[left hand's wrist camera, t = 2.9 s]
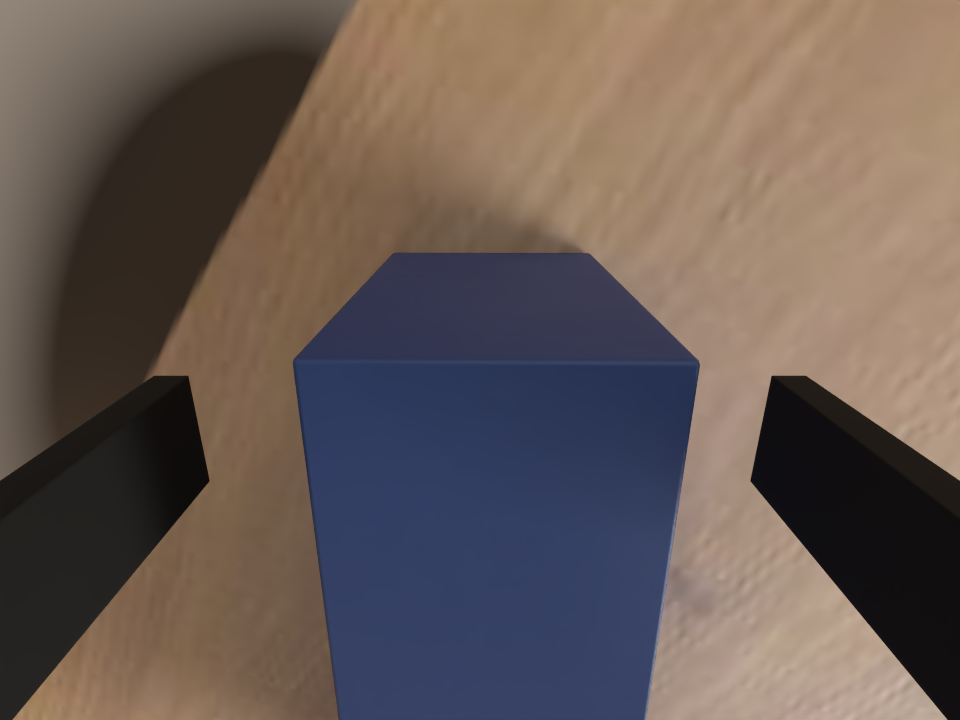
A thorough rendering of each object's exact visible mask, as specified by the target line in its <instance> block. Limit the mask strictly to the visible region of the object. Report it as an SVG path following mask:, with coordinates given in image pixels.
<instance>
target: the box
mask: <svg viewBox="0 0 960 720" xmlns="http://www.w3.org/2000/svg"><path fill="white" fill-rule="evenodd" d="M699 367H700V364H699V361H698V360H697V359H696V358H695V357H694V356H693V355H692V354H691V353H690V352H689V351H688V350H687V349H686V348H685V347H684V346H683V345H682V344H681V343H680V342H679V341H678V340H677V339H676V338H675V337H674V336H673V335H672V334H671V333H670V332H669V331H668V330H667V329H666V328H665V327H664V326H663V325H662V324H661V323H660V322H659V321H658V320H657V319H656V318H655V317H654V316H653V315H651V314H650V313H649V312H648V311H647V310H646V309H645V308H644V307H643V306H642V305H641V304H640V303H639V302H638V301H637V300H636V299H635V298H634V297H633V296H632V295H631V294H630V293H629V292H628V291H627V290H626V289H625V288H624V287H623V286H622V285H621V284H620V283H619V282H618V281H617V280H616V279H615V278H614V277H613V276H612V275H611V274H610V273H609V272H608V271H607V270H606V269H605V268H604V267H603V266H602V265H601V264H600V263H599V262H598V261H597V260H596V259H595V258H593V257H592V256H591V255H590V254H588V253H394V254H392V255H391V256H390V257H389V258H388V259H387V261H386V262H385V263H384V264H383V265H382V266H381V267H380V268H379V269H378V270H377V271H376V272H375V273H374V274H373V275H372V277H371V278H370V279H369V280H368V281H367V282H366V283H365V284H364V285H363V286H362V287H361V288H360V289H359V290H358V291H357V293H356V294H355V295H354V296H353V297H352V298H351V299H350V300H349V301H348V302H347V303H346V304H345V305H344V306H343V307H342V309H341V310H340V311H339V312H338V313H337V314H336V315H335V316H334V317H333V318H332V319H331V320H330V321H329V322H328V323H327V325H326V326H325V327H324V328H323V329H322V330H321V331H320V332H319V333H318V334H317V335H316V336H315V337H314V338H313V339H312V341H311V342H310V343H309V344H308V345H307V346H306V347H305V348H304V349H303V350H302V351H301V352H300V353H299V354H298V355H297V357H296V358H295V359H294V361H293V368H294V376H295V384H296V391H297V399H298V407H299V415H300V422H301V430H302V438H303V446H304V453H305V461H306V469H307V476H308V484H309V492H310V500H311V507H312V515H313V523H314V531H315V538H316V546H317V554H318V561H319V569H320V577H321V585H322V592H323V600H324V608H325V616H326V623H327V631H328V639H329V646H330V654H331V662H332V670H333V677H334V685H335V693H336V701H337V708H338V716H339V720H646V716H647V709H648V703H649V696H650V689H651V683H652V676H653V670H654V663H655V657H656V650H657V643H658V637H659V630H660V624H661V617H662V611H663V604H664V597H665V591H666V584H667V578H668V571H669V565H670V558H671V551H672V545H673V538H674V532H675V525H676V519H677V512H678V505H679V499H680V492H681V486H682V479H683V473H684V466H685V459H686V453H687V446H688V440H689V433H690V427H691V420H692V413H693V407H694V400H695V394H696V387H697V381H698V374H699Z"/></svg>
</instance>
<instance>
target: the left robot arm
mask: <svg viewBox="0 0 960 720" xmlns="http://www.w3.org/2000/svg"><path fill="white" fill-rule="evenodd" d="M208 482H209V476H208V471H207V466H206V461H205V456H204V451H203V446H202V441H201V436H200V431H199V426H198V422H197V417H196V412H195V407H194V402H193V397H192V392H191V387H190V382H189V377H188V376H153V377H152V378H150V379H149V380H147V381H146V382H144V383H143V384H141V385H140V386H139V387H137V388H136V389H134V390H133V391H131V392H130V393H128V394H127V395H125V396H124V397H123V398H121V399H119V400H118V401H117V402H115V403H114V404H112V405H111V406H109V407H108V408H106V409H105V410H103V411H102V412H100V413H99V414H98V415H96V416H95V417H93V418H92V419H90V420H89V421H87V422H86V423H84V424H83V425H81V426H80V427H78V428H77V429H76V430H74V431H73V432H71V433H70V434H68V435H67V436H65V437H64V438H62V439H61V440H59V441H58V442H56V443H55V444H54V445H52V446H51V447H49V448H48V449H46V450H45V451H43V452H42V453H40V454H39V455H37V456H36V457H34V458H33V459H32V460H30V461H29V462H27V463H26V464H24V465H23V466H21V467H20V468H18V469H17V470H15V471H14V472H13V473H11V474H10V475H8V476H7V477H5V478H4V479H2V480H1V481H0V720H13V718H14V717H15V716H16V715H17V714H18V712H19V711H20V710H21V709H22V707H23V706H24V705H25V704H26V703H27V701H28V700H29V699H30V698H31V697H32V695H33V694H34V693H35V692H36V691H37V689H38V688H39V687H40V686H41V684H42V683H43V682H44V681H45V680H46V678H47V677H48V676H49V675H50V674H51V672H52V671H53V670H54V669H55V668H56V666H57V665H58V664H59V663H60V661H61V660H62V659H63V658H64V657H65V655H66V654H67V653H68V652H69V651H70V649H71V648H72V647H73V646H74V645H75V643H76V642H77V641H78V640H79V638H80V637H81V636H82V635H83V634H84V632H85V631H86V630H87V629H88V628H89V626H90V625H91V624H92V623H93V622H94V620H95V619H96V618H97V617H98V615H99V614H100V613H101V612H102V611H103V609H104V608H105V607H106V606H107V605H108V603H109V602H110V601H111V600H112V599H113V597H114V596H115V595H116V594H117V592H118V591H119V590H120V589H121V588H122V586H123V585H124V584H125V583H126V582H127V580H128V579H129V578H130V577H131V576H132V574H133V573H134V572H135V571H136V569H137V568H138V567H139V566H140V565H141V563H142V562H143V561H144V560H145V559H146V557H147V556H148V555H149V554H150V553H151V551H152V550H153V549H154V548H155V546H156V545H157V544H158V543H159V542H160V540H161V539H162V538H163V537H164V536H165V534H166V533H167V532H168V531H169V530H170V528H171V527H172V526H173V525H174V523H175V522H176V521H177V520H178V519H179V517H180V516H181V515H182V514H183V513H184V511H185V510H186V509H187V508H188V507H189V505H190V504H191V503H192V502H193V500H194V499H195V498H196V497H197V496H198V494H199V493H200V492H201V491H202V490H203V488H204V487H205V486H206V485H207V484H208ZM751 482H752V484H753V485H754V486H755V487H756V488H757V490H758V491H759V492H760V493H761V494H762V496H763V497H764V498H765V499H766V500H767V502H768V503H769V504H770V505H771V507H772V508H773V509H774V510H775V511H776V513H777V514H778V515H779V516H780V517H781V519H782V520H783V521H784V522H785V523H786V525H787V526H788V527H789V528H790V530H791V531H792V532H793V533H794V534H795V536H796V537H797V538H798V539H799V540H800V542H801V543H802V544H803V545H804V546H805V548H806V549H807V550H808V551H809V553H810V554H811V555H812V556H813V557H814V559H815V560H816V561H817V562H818V563H819V565H820V566H821V567H822V568H823V569H824V571H825V572H826V573H827V574H828V576H829V577H830V578H831V579H832V580H833V582H834V583H835V584H836V585H837V586H838V588H839V589H840V590H841V591H842V592H843V594H844V595H845V596H846V597H847V599H848V600H849V601H850V602H851V603H852V605H853V606H854V607H855V608H856V609H857V611H858V612H859V613H860V614H861V615H862V617H863V618H864V619H865V620H866V622H867V623H868V624H869V625H870V626H871V628H872V629H873V630H874V631H875V632H876V634H877V635H878V636H879V637H880V638H881V640H882V641H883V642H884V643H885V645H886V646H887V647H888V648H889V649H890V651H891V652H892V653H893V654H894V655H895V657H896V658H897V659H898V660H899V661H900V663H901V664H902V665H903V666H904V668H905V669H906V670H907V671H908V672H909V674H910V675H911V676H912V677H913V678H914V680H915V681H916V682H917V683H918V684H919V686H920V687H921V688H922V689H923V691H924V692H925V693H926V694H927V695H928V697H929V698H930V699H931V700H932V701H933V703H934V704H935V705H936V706H937V707H938V709H939V710H940V711H941V712H942V714H943V715H944V716H945V717H946V718H947V720H960V481H959V480H958V479H956V478H955V477H953V476H952V475H950V474H949V473H948V472H946V471H945V470H943V469H942V468H940V467H939V466H937V465H936V464H934V463H933V462H931V461H930V460H928V459H927V458H926V457H924V456H923V455H921V454H920V453H918V452H917V451H915V450H914V449H912V448H911V447H909V446H908V445H906V444H905V443H904V442H902V441H901V440H899V439H898V438H896V437H895V436H893V435H892V434H890V433H889V432H887V431H886V430H884V429H883V428H882V427H880V426H879V425H877V424H876V423H874V422H873V421H871V420H870V419H868V418H867V417H865V416H864V415H862V414H861V413H860V412H858V411H857V410H855V409H854V408H852V407H851V406H849V405H848V404H846V403H845V402H843V401H842V400H841V399H839V398H838V397H836V396H835V395H833V394H832V393H830V392H829V391H827V390H826V389H824V388H823V387H821V386H820V385H819V384H817V383H816V382H814V381H813V380H811V379H810V378H808V377H807V376H772V377H771V382H770V387H769V392H768V397H767V402H766V407H765V412H764V417H763V422H762V426H761V431H760V436H759V441H758V446H757V451H756V456H755V461H754V466H753V471H752V476H751Z"/></svg>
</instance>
